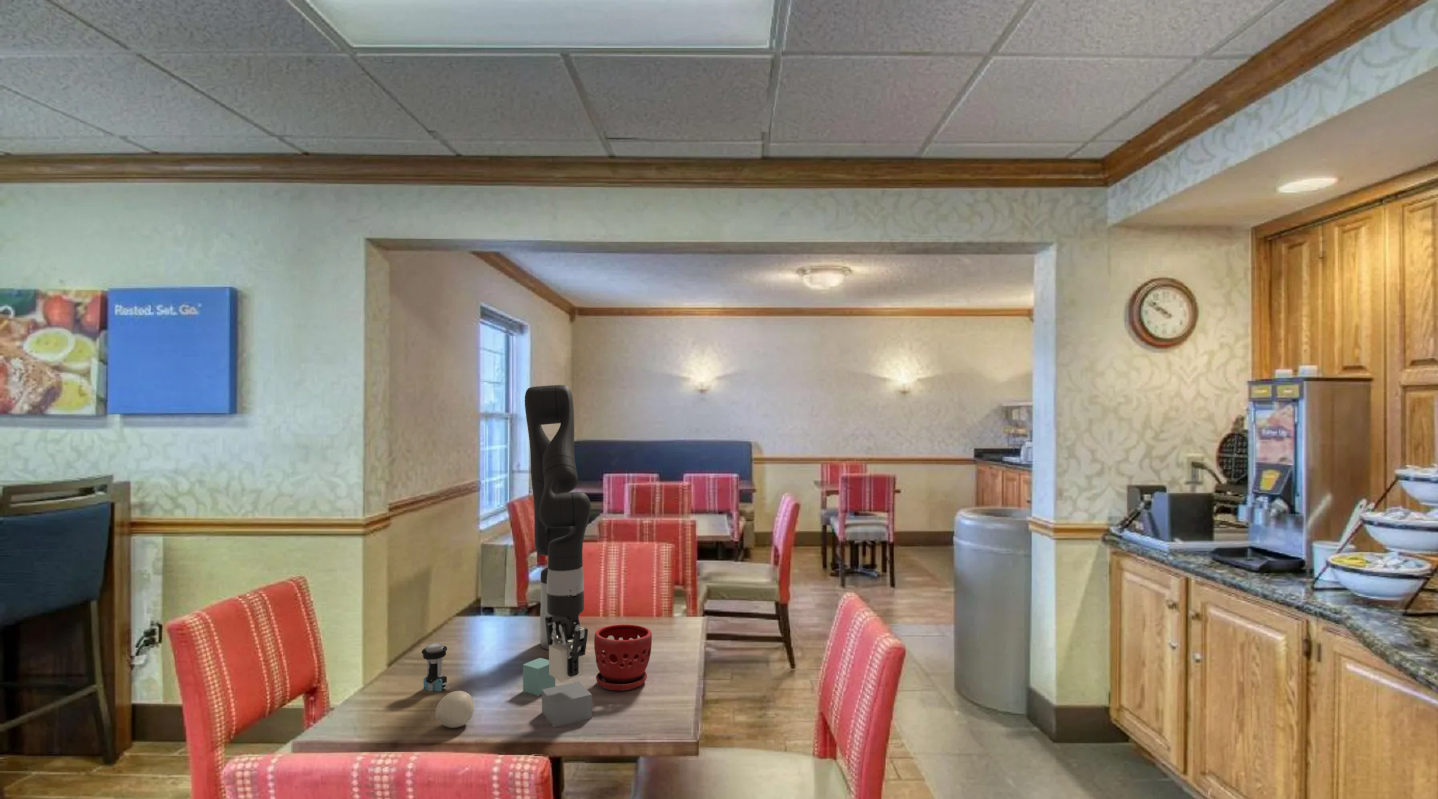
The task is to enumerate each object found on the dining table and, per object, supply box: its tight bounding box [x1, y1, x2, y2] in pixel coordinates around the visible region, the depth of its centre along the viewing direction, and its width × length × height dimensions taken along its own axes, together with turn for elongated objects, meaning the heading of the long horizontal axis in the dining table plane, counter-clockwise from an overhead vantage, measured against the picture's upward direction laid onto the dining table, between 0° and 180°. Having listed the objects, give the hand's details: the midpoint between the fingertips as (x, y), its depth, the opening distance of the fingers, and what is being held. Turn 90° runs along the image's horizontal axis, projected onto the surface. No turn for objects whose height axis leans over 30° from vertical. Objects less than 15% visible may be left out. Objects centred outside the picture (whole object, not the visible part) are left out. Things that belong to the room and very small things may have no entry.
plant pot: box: [593, 623, 653, 691], centre depth 161 cm, size 13×13×12 cm
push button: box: [421, 641, 452, 692], centre depth 158 cm, size 7×5×10 cm
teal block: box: [522, 657, 556, 697], centre depth 158 cm, size 5×5×6 cm
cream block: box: [548, 640, 584, 682], centre depth 144 cm, size 5×5×6 cm
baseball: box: [434, 690, 475, 729], centre depth 140 cm, size 7×7×7 cm
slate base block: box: [541, 681, 593, 728], centre depth 144 cm, size 8×8×5 cm
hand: (566, 671), depth 144 cm, fingers closed on cream block, 5 cm apart
